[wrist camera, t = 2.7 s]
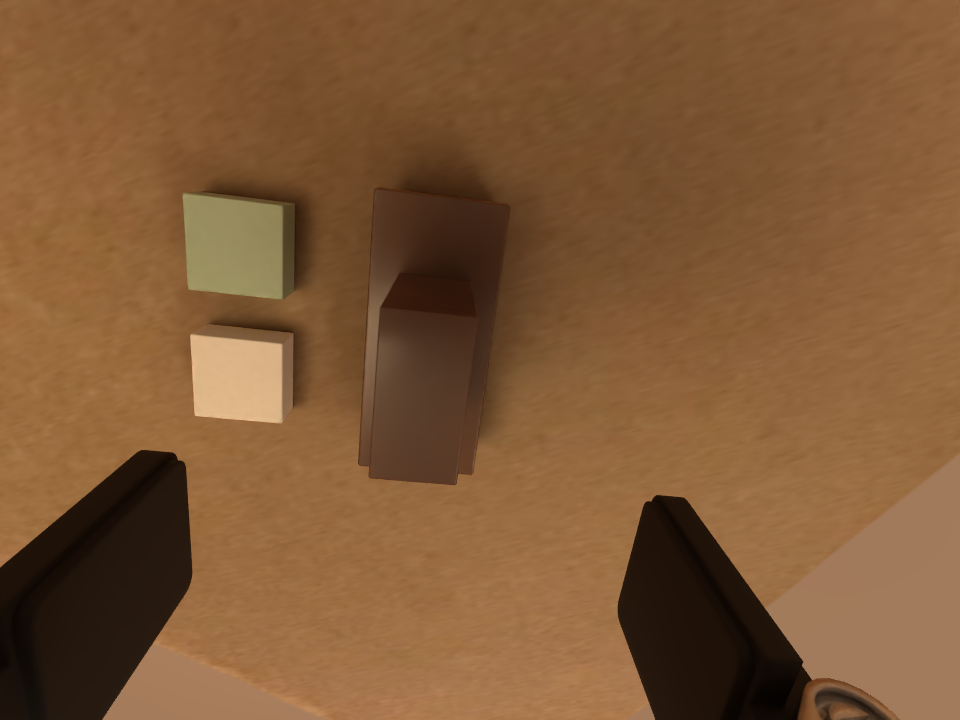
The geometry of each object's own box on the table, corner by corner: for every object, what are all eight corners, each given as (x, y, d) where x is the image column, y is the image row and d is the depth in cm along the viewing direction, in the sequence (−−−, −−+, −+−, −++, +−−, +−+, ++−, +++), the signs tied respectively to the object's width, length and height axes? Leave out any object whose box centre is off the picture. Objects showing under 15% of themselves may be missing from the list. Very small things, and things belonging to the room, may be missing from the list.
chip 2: (211, 400, 26) (194, 416, 24) (207, 323, 25) (189, 334, 23) (293, 408, 26) (282, 423, 25) (294, 332, 25) (282, 343, 23)
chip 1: (205, 281, 24) (187, 289, 22) (202, 191, 23) (181, 192, 21) (294, 291, 24) (282, 300, 23) (295, 203, 23) (283, 205, 21)
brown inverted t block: (367, 436, 27) (328, 554, 19) (383, 186, 23) (343, 190, 15) (470, 445, 27) (479, 564, 19) (503, 202, 24) (533, 215, 15)
